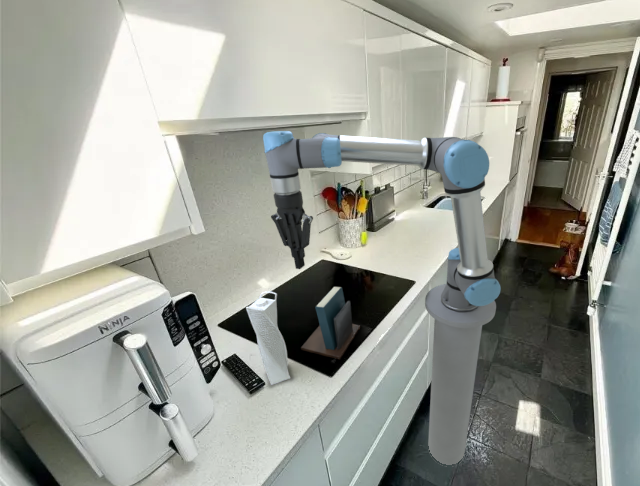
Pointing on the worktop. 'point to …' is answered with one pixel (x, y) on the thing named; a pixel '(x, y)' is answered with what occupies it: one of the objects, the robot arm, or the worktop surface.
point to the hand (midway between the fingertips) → (300, 266)
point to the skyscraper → (269, 338)
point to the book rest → (343, 335)
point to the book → (330, 315)
